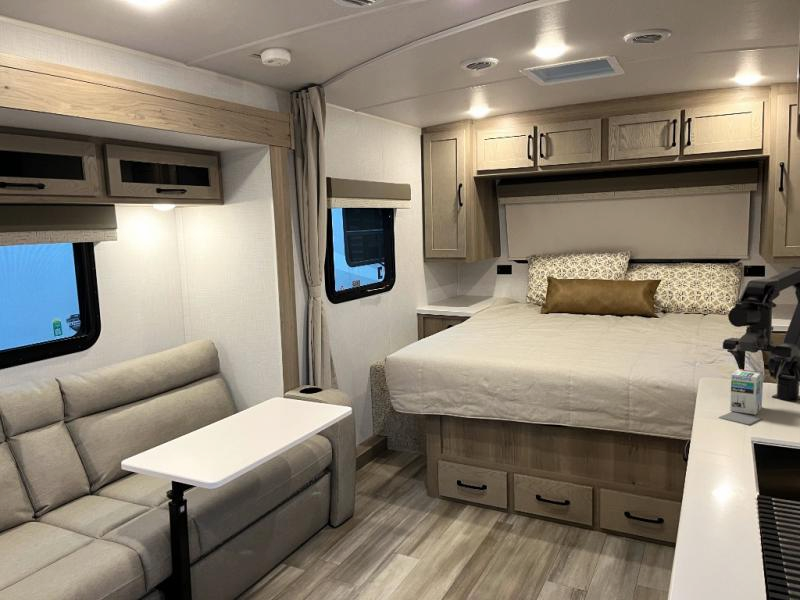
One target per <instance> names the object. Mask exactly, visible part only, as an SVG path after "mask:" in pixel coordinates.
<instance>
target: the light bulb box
mask: <svg viewBox="0 0 800 600" xmlns="http://www.w3.org/2000/svg"><path fill="white" fill-rule="evenodd" d="M730 380H731V381H730V400H729V401H730V404H729V405H730V407H729V408H730V409H729V410H730V412H738V413H742V414H747V415H753V416H755V415H757V414H758V413H759V412H760V410H762V408H763V387H764V385H763V384H764V372H763V371H759V370H749V369H744V370H742V369H739V368H738V369H736V370H735V371H734V372H733V373H731V375H730Z"/></svg>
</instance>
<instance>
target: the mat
mask: <svg viewBox="0 0 800 600" xmlns="http://www.w3.org/2000/svg"><path fill="white" fill-rule="evenodd" d="M763 418H764V417H762V416H755V415H753V414H747V413H741V412H734V411H730V412H728V413H726V414H723V415H721V416H719V417H718V419H720V420H725V421H730V422H733V423H737V424H741V425H744V426H745V425H746V426H751V425H752V424H753V425H754V424H755V423H757V422H759V421H762V420H763Z"/></svg>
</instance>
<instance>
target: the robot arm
mask: <svg viewBox="0 0 800 600" xmlns="http://www.w3.org/2000/svg"><path fill="white" fill-rule="evenodd" d="M792 286H793V288H795V292H794V293H795V297H796V299H797V303H796V307H795V308H794V312H793V315H792V317H791V319H790V322H789V325H788V327H787V331H786V333H785V336H784V339H783V341H782V343H780V344H778V345H773V344H774V342H773V341H774V340H772V331H774V326H772V325H773V322H772V321H773V308H776V307H777V304H776V303H775V302H773V301H774V300H776V299H777V298H778V297H779V296H780V293H781V292H782V291H783V290H786V289H788V288H791V287H792ZM727 317H728V321H729V323H730V324H731V325H732V326H734V327H737V328H741V327H746V331H745V334H743V335H742V336H741V337H740V338H738V337H730V338H725V339H724V340H723V341H722V349H723V350H726V351H727V353H730V355H732V357H734V359H735V362H736V364H737V367H738V369H742V370H745V365H746V352H749V353H752V354H753V353H755V354H756V353H758V352H759V351H761V352H762V351H763V352H770V355H769V356H768V360H767V368H768V372H769V377H771V378H773V379H774V380H776V394H773V395H771V398H772V399H776V400H777V399H778V400H784V401H789V402H794V403H795V402H797V401H799V400H800V266H795V265H794V266H792V267H790V268H789V269H786V270H785V271H782V272H780V273H778V274H775V275H774V276H770V277H769V278H757V279H752V280H749V281H747V283H746V286H745V288H744V289H743V291H742V293H741V295H740V298H739V299H738V302H735V304H734V307H733V308H731V309H730V311H729V313H728V316H727Z"/></svg>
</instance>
